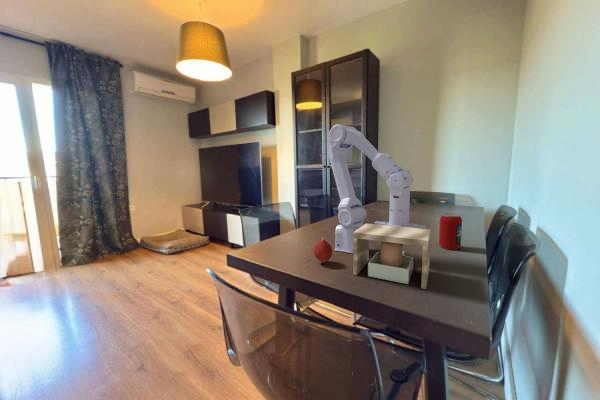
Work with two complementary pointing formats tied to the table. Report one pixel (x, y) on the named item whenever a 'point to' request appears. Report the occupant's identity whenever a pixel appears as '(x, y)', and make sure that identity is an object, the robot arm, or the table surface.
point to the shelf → (395, 236)
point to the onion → (323, 251)
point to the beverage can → (450, 231)
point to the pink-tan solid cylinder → (391, 254)
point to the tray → (391, 269)
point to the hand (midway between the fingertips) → (398, 252)
